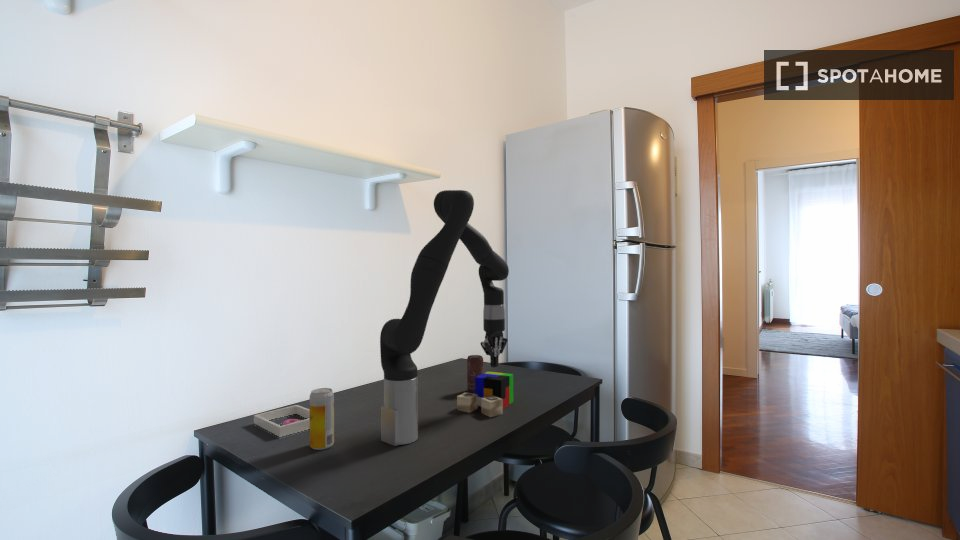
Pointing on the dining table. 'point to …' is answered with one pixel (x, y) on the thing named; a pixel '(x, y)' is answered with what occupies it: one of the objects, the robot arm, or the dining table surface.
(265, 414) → the dish rim
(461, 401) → the marked block
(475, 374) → the can
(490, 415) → the marked block
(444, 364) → the dining table surface
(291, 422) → the donut
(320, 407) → the beer can
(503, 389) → the puzzle toy
